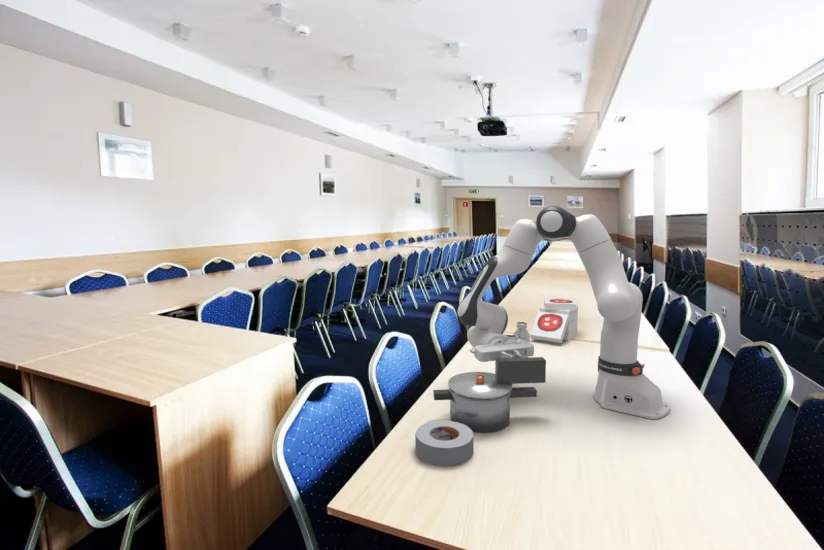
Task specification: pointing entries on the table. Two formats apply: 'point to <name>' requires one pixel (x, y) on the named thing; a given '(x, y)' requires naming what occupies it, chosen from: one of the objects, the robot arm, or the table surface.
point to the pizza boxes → (556, 320)
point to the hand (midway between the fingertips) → (516, 358)
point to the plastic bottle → (522, 332)
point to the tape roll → (444, 443)
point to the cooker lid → (499, 378)
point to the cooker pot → (482, 409)
